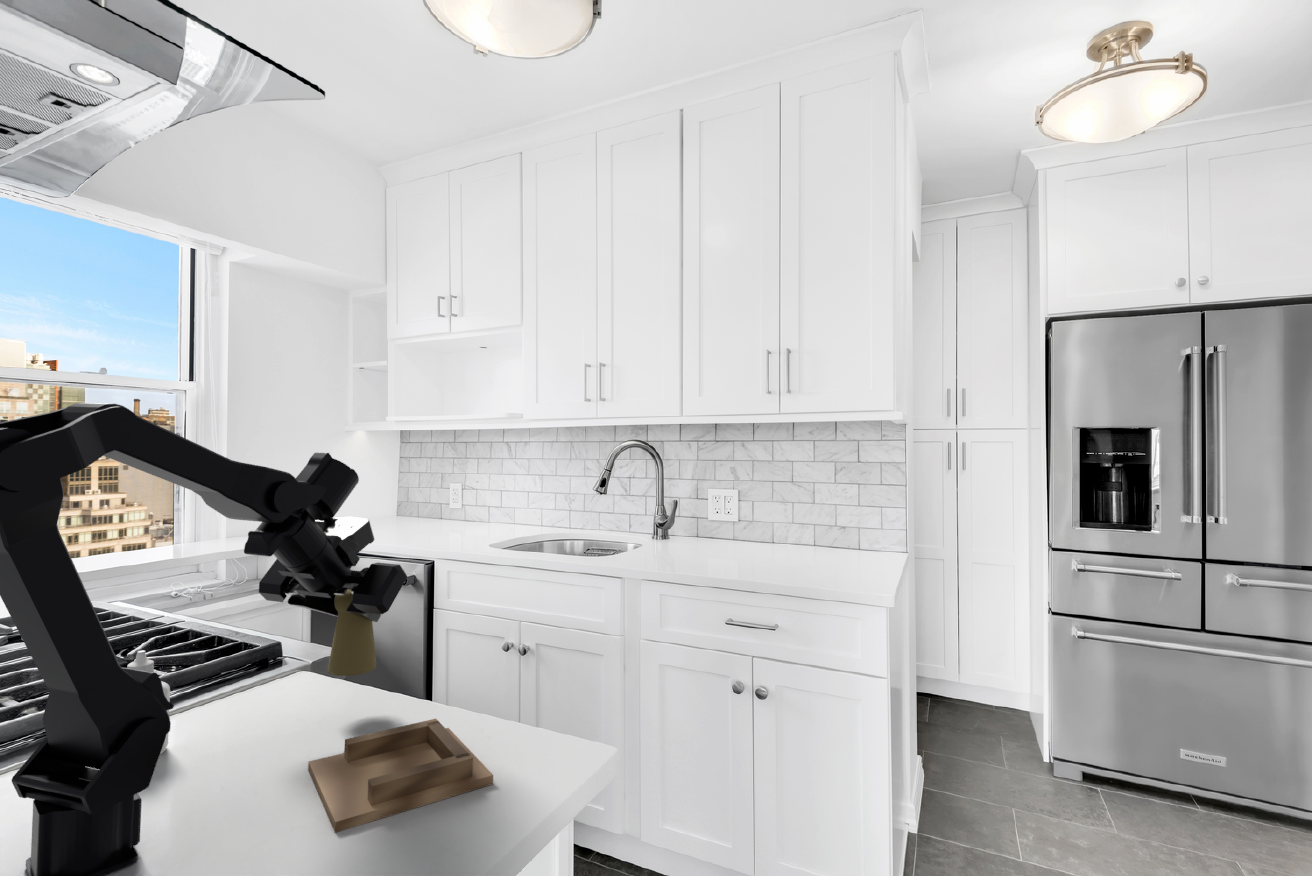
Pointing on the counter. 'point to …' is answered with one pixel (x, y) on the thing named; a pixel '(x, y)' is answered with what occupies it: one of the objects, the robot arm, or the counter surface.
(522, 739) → the counter surface
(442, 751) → the seat
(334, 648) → the olive pepper mill
